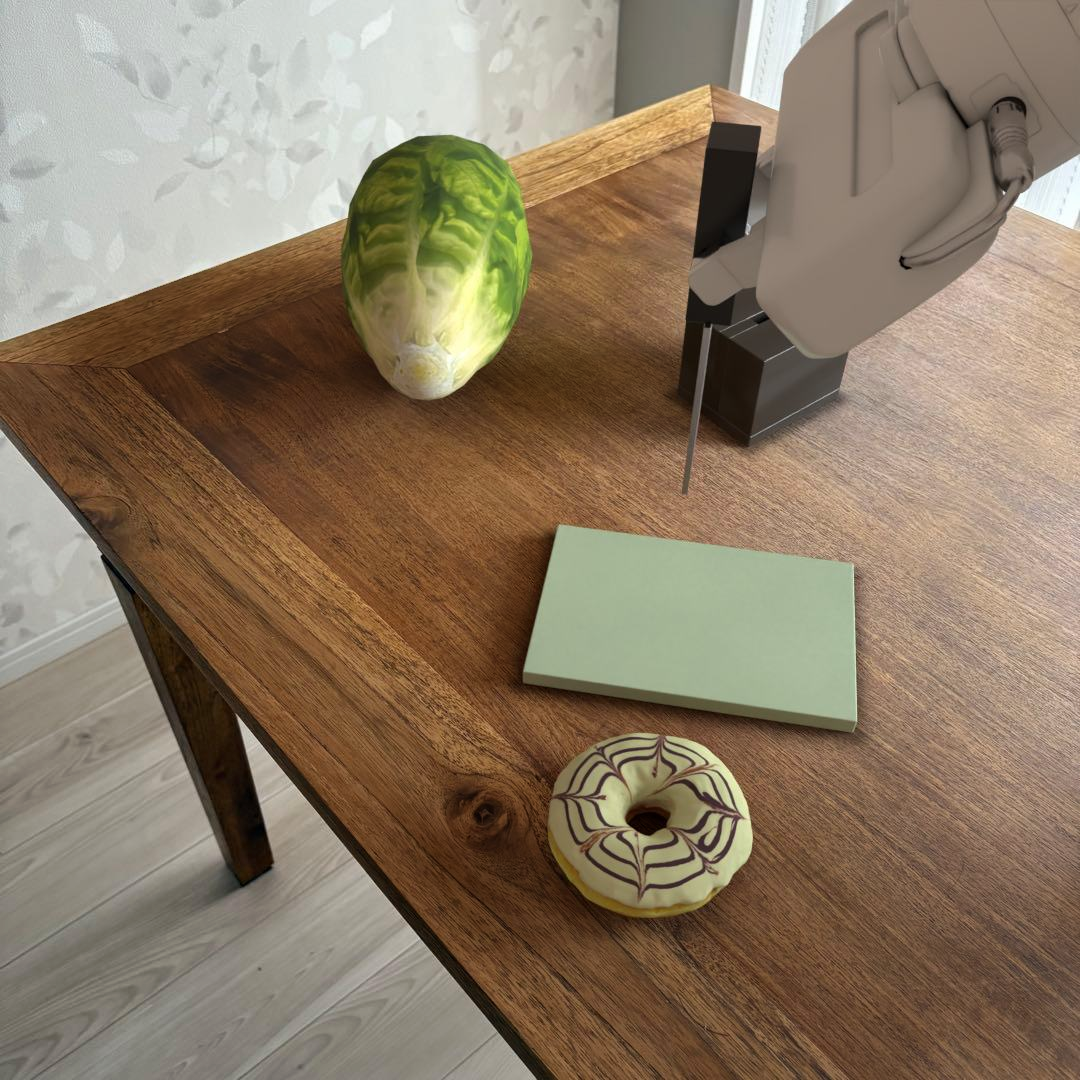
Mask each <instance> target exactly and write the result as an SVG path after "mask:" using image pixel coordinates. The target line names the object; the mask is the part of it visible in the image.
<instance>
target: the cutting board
mask: <svg viewBox="0 0 1080 1080" xmlns="http://www.w3.org/2000/svg"><path fill="white" fill-rule="evenodd" d="M854 568H855V567H854V563H853V562H845V561H837V560H830V559H822V558H816V557H815V558H814V557H808V556H802V555H801V556H800V555H793V554H785V553H778V552H771V551H762V550H755V549H747V548H740V547H732V546H725V545H717V544H709V543H703V542H694V541H687V540H679V539H671V538H665V537H659V536H658V537H657V536H649V535H642V534H635V533H627V532H619V531H613V530H606V529H605V530H604V529H597V528H589V527H581V526H575V525H568V524H567V525H566V524H559V523H558V524H557V527H556V531H555V535H554V539H553V543H552V549H551V552H550V556H549V561H548V566H547V569H546V573H545V578H544V582H543V585H542V589H541V594H540V598H539V603H538V606H537V611H536V614H535V620H534V623H533V627H532V631H531V636H530V640H529V643H528V647H527V652H526V656H525V660H524V665H523V669H522V683H523V684H526V685H534V686H540V687H546V688H554V689H559V690H567V691H573V692H580V693H585V694H586V693H587V694H593V695H600V696H607V697H613V698H619V699H625V700H626V699H627V700H633V701H640V702H646V703H654V704H660V705H665V706H666V705H667V706H672V707H678V708H679V707H680V708H685V709H692V710H699V711H707V712H713V713H719V714H727V715H732V716H738V717H745V718H752V719H759V720H765V721H772V722H779V723H784V724H785V723H786V724H792V725H798V726H806V727H812V728H819V729H825V730H832V731H838V732H843V733H845V732H846V733H854V732H855V729H856V726H857V723H858V700H857V699H858V697H857V659H856V658H857V657H856V654H857V653H856V612H855V611H856V610H855V609H856V608H855V574H854V573H855V571H854Z"/></svg>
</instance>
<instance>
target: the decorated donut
mask: <svg viewBox="0 0 1080 1080" xmlns="http://www.w3.org/2000/svg"><path fill="white" fill-rule="evenodd" d="M644 813H645V814H646V813H657V814H659V815H660V816H661V817H664V818H665V819H666V820H667V822H666V827H665V828H662V829H659V830H657V831H655V832H654V833H653V834H651V835H645V834H643V833H641V832H639V831H637V830H636V829H634V828H633V827H631V825H629V823H630V821H631V820H632V819H634V817H635V816H637V815H641V814H644ZM753 835H754V834H753V829H752V821H751V816H750V811H749V805H748V803H747V800H746V798H745V796H744V793H743V790H742V789H741V787H740V785H739V783H738V781H737V780H736V779H735V777H734V775H733V773H732V772H731V771H730V770H729V769H728V767H727V766H726V765H725V764H724V763H723V762H722V759H721V760H720V759H719V757H717V756H716V755H715V754H714V753H712V752H711V750H709V749H708V748H707V747H706V746H704V745H702V744H700V743H698V742H696V741H692V740H689V739H687V738H684V737H679V736H678V737H677V736H672V735H664V734H657V733H649V732H633V733H626V734H622V735H617V736H613V737H608V738H606V739H605V740H602V741H599V742H597V743H594V744H592V745H590V746H589V747H588V748H586V750H584V751H583V752H581V753H579V754H578V755H576V756H575V757H573V759H572V760H571V761H570V762H569V763H568V764H567V765H566V767H564V768H563V769H562V770H561V771H560V772H559V774H558V776H557V778H556V781H555V782H554V784H553V792H552V796H551V798H550V802H549V808H548V815H547V839H548V844H549V847H550V850H551V854H552V855H553V857H554V859H555V861H556V862H557V864H558V866H559V867H560V868H561V870H562V871H563V872H564V874H565V875H566V878H567V880H568V881H569V882H570V883H571V884H572V885H573V886H575V888H577V889H578V891H579V892H580V893H581V895H582V896H584V898H585V899H587V900H588V901H590V902H592V903H593V904H596V905H598V906H600V907H602V908H604V909H607V910H609V911H611V912H613V913H616V914H619V915H621V916H624V917H628V918H634V919H635V918H637V919H659V918H671V917H672V918H673V917H676V916H679V915H684V914H686V913H688V912H693V911H696V910H697V909H700V908H701V907H703V906H704V905H706V904H707V903H708V902H710V901H711V900H712V899H713V898H715V896H716V895H718V893H720V891H721V890H723V889H724V888H725V887H726V886H728V885H729V883H730V882H731V880H732V877H733V876H734V874H735V873H736V872H737V871H738V870H740V868H741V867H742V866H744V865H745V864H746V863H747V861H748V859H749V857H750V856H751V852H752V849H753V841H754V839H753V838H754V836H753Z"/></svg>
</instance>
